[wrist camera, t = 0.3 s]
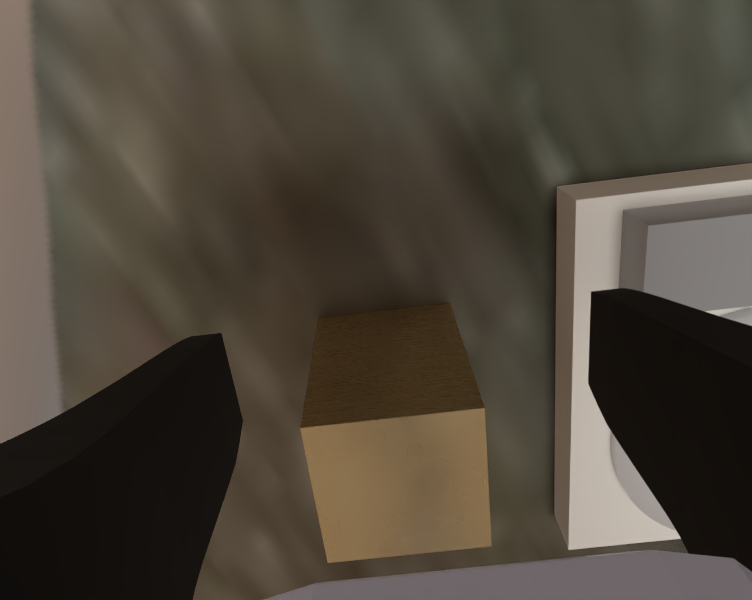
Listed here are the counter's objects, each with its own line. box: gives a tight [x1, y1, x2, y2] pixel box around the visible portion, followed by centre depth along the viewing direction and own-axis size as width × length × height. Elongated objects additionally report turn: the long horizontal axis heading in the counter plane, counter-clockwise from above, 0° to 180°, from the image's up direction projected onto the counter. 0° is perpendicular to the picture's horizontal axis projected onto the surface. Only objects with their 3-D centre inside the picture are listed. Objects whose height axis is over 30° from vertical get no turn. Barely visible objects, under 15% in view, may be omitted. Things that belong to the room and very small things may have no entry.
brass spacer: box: [300, 303, 492, 563], centre depth 20 cm, size 5×5×7 cm
